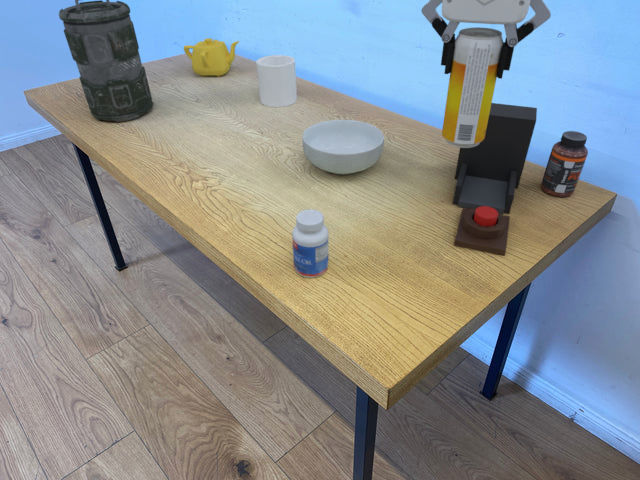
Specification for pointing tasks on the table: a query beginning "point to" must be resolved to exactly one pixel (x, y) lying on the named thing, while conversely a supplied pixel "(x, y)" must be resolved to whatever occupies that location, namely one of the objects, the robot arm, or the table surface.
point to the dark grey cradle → (495, 160)
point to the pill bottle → (310, 244)
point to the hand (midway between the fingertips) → (473, 71)
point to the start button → (485, 216)
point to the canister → (107, 59)
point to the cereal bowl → (343, 145)
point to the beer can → (471, 86)
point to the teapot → (211, 57)
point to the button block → (482, 233)
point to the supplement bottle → (565, 164)
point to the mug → (277, 80)
